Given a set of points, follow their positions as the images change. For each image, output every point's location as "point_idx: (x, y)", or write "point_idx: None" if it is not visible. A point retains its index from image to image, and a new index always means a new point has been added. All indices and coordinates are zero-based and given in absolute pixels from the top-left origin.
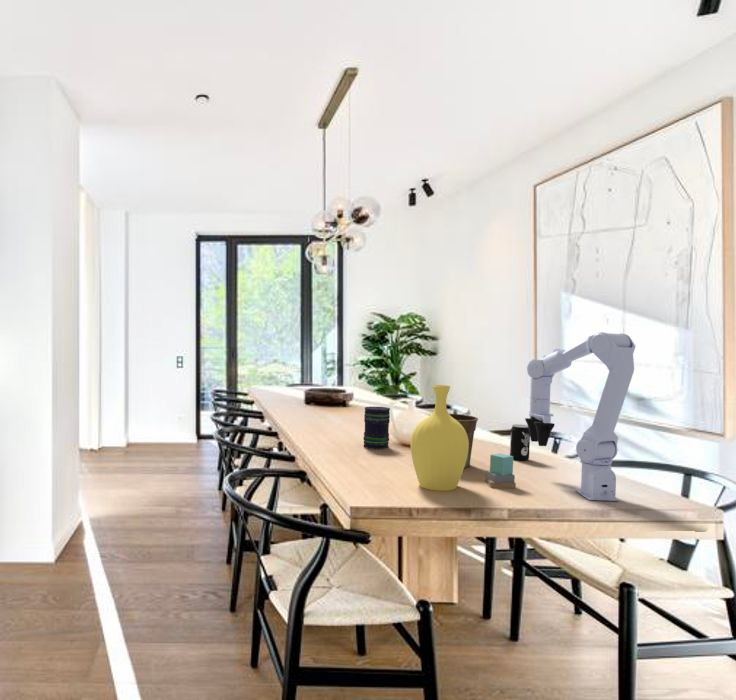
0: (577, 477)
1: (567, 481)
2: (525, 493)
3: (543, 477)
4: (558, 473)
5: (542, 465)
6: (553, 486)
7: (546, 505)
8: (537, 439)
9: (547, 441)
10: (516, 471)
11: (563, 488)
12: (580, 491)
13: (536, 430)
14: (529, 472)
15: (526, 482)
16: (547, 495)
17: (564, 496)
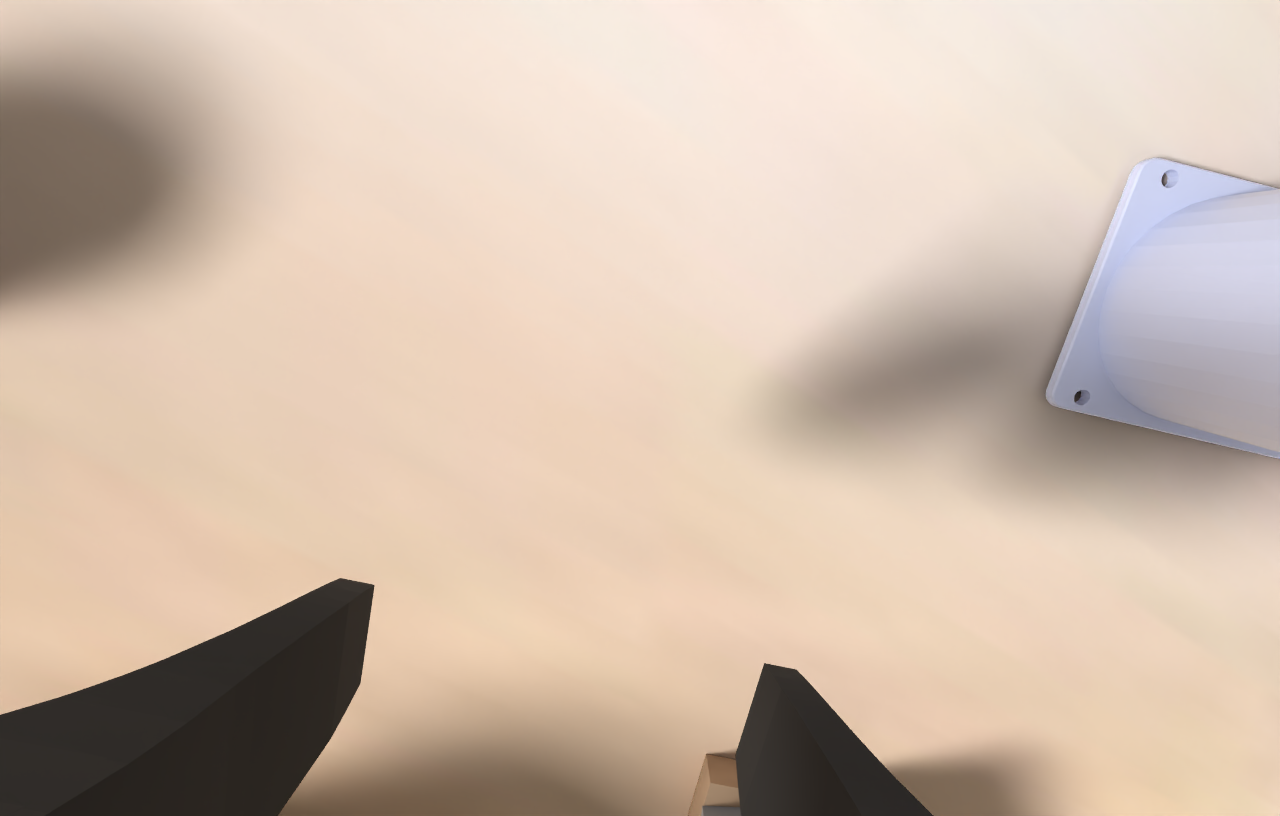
0: (613, 59)
1: (748, 272)
2: (1002, 781)
3: (590, 416)
4: (441, 169)
5: (73, 132)
6: (879, 495)
7: (1269, 784)
8: (353, 618)
9: (840, 721)
10: (366, 543)
11: (949, 449)
12: (1133, 410)
13: (225, 772)
14: (402, 445)
15: (733, 639)
16: (1084, 669)
17: (1140, 568)
